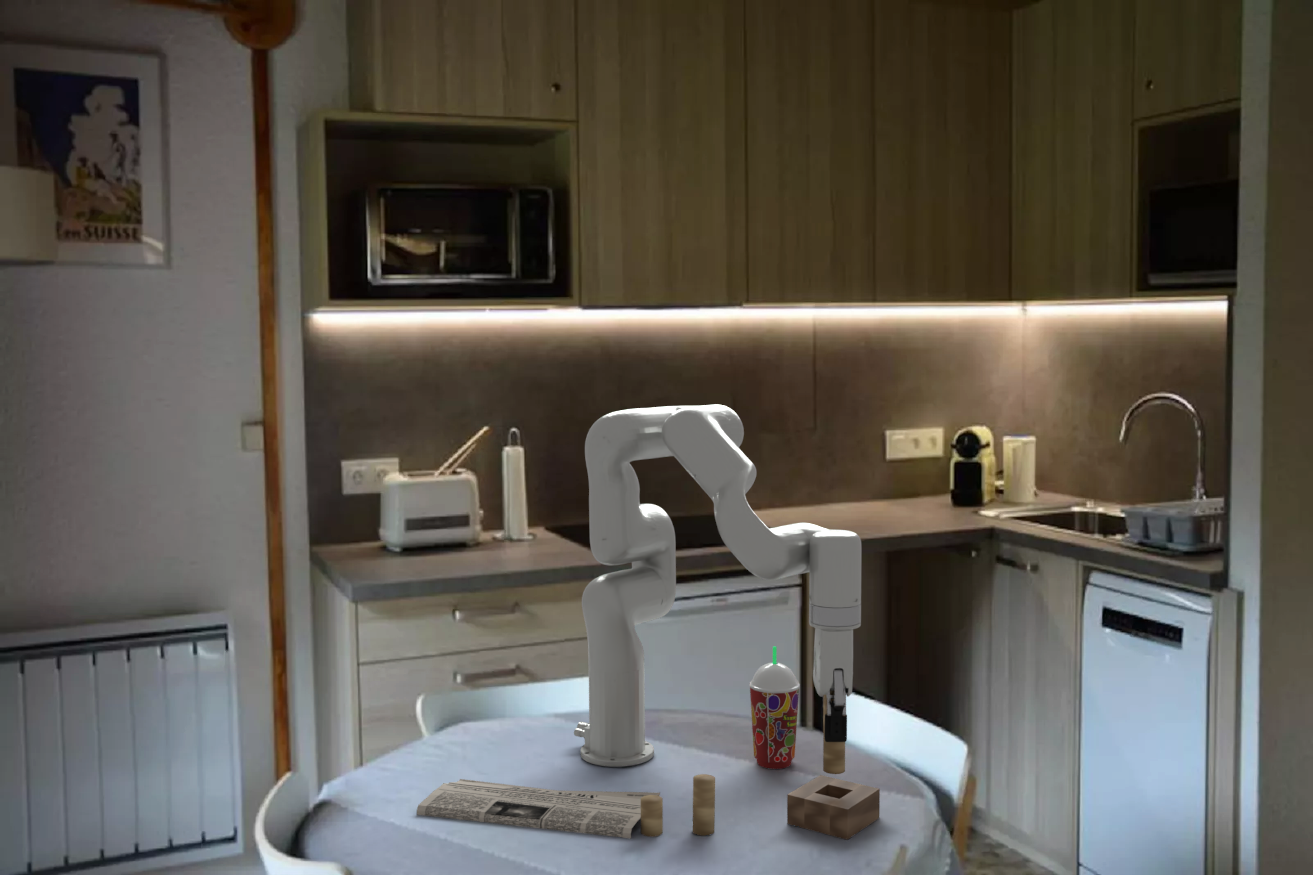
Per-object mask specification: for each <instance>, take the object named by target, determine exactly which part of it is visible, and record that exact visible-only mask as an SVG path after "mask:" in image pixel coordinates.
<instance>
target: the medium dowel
mask: <svg viewBox="0 0 1313 875" xmlns="http://www.w3.org/2000/svg"><path fill="white" fill-rule="evenodd" d="M692 784H693V785H692V834H694V835H696V834H697V835H696V836H701V837H702V836H704V837H706V835H708V836H711V835H710V834H712V835H713V834H714V833H715V822H716V820H715V818H716V817H715V816H716V815H715V814H716V813H715V812H716V810H715V809H716V777H715V776H714V775H712V774H706V773H701V774H697V775H694V776H693V777H692Z"/></svg>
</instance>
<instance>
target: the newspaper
mask: <svg viewBox="0 0 1313 875" xmlns="http://www.w3.org/2000/svg"><path fill="white" fill-rule="evenodd" d="M646 795H657V796H660V795H661V792H650V791H649V792H648V791H645V792H644V791H606V790H605V791H603V790H602V791H601V790H600V791H597V790H592V791H590V790H559V789H558V790H556V789H547V788H539V787H534V786H533V787H531V786H524V785H515V784H514V785H513V784H506V783H496V782H491V781H490V782H488V781H483V780H482V781H480V780H471V779H465V778H464V779H463V778H459V780H457V781H453V782H447V783H444V782H443V783H442V784H441V785H440V786H438V787H437V788H436V789H435V790H433V791H432V792H431V793H430V794H429V795H428V796H426V797H425V799H423V800H422V801H420V803H419V804H418V805H417V808H416V815H417V816H423V817H424V816H427V817H434V818H442V819H452V820H461V821H471V822H480V823H488V824H498V825H506V826H513V827H514V826H515V827H516V826H517V827H523V828H533V829H542V830H551V831H560V832H569V833H570V832H571V833H576V834H587V835H595V836H597V835H598V836H603V837H605V836H607V837H614V838H622V839H623V838H624V839H632V830H633V828H634V826H635V825H636V824H637V822H639V820H641V798H642V797H643V796H646ZM660 797H661V796H660Z"/></svg>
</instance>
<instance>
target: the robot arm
mask: <svg viewBox="0 0 1313 875" xmlns="http://www.w3.org/2000/svg"><path fill="white" fill-rule="evenodd" d="M744 429H745V428H744V425H743V422H742V420H741V418H740V417H739V414H737V412H735V410H733V409H732V408H731V407H728V406H727V405H722V404H718V403H717V404H716V403H715V404H706V405H705V404H704V405H667V406H665V405H664V406H656V407H655V406H653V407H640V408H639V407H638V408H636V407H635V408H627V409H622V410H616V411H612V412H609V413H606V414H605V415H602V416H601V417H600V418H598V419H597V420H596V421H594V423H593V424H592V425H591V427H590V428H589V429H588V431H587V434H586V438H585V441H584V457H585V458H584V459H585V466H586V470H587V476H588V477H587V478H588V489H589V490H588V491H589V492H588V494H589V495H588V510H589V511H588V515H589V516H588V518H589V521H588V522H589V544H590V551H591V554H592V556H593V557H594V559H595V561H596V562H598V563H600V564H602V565H605V566H619V565H625V564H630V563H631V568H628V569H627V568H626V569H622V570H618V571H617V570H616V571H612V572H608V573H604V574H601V575H599V576H598V577H595V578H593V579H592V580H591V581H590V582H588V584H587V585H586V586H585V588H584V590H583V592H582V595H581V609H582V615H583V619H584V620H583V621H584V625H585V629H586V630H585V631H586V638H587V652H588V653H587V655H588V656H587V657H588V659H587V660H588V662H587V663H588V718H589V719H588V722H585V721H579V722H578V724H577V726H576V728H575V729H574V730H573V735H574V736H575V737H579V738H583V739H584V744H583V745H582V746H581V747H580V757H581V759H582V760H584V761H586V762H587V763H589V764H592V765H596V766H601V767H609V768H616V767H617V768H619V767H631V766H636V765H640V764H643V763H645V762H648V761H650V760H651V759H653V757H654V755H655V747H654V745H653V744H652V743H650V742H649V741H647V740H646V707H645V706H646V703H645V702H646V701H645V700H646V698H645V697H646V695H645V694H646V693H645V690H646V688H645V686H646V682H645V681H646V680H645V679H646V678H645V677H646V676H645V673H646V670H645V652H644V647H643V643H642V642H641V640H640V637H639V635H638V633H637V631H636V629H635V628H636V627H635V626H637V625H640V624H643V623H647V622H650V621H654V620H657V619H661V618H662V617H664V616H665V615H667V614H668V613H670V611H671V609H672V608H673V605H674V603H675V599H676V592H677V574H676V573H677V568H676V566H677V565H676V564H677V557H676V556H677V555H676V543H677V542H676V532H675V527H674V525H673V521H672V519H671V517H670V516H669V514H668V513H667V512H666V511H665V509H664V508H662V507H661V506H659V505H656V504H654V503H641V502H640V494H641V493H640V491H641V488H640V482H639V479H638V475H637V473H636V471H635V469H634V467H633V466H632V464H631V463H632V462H634V461H640V460H649V459H659V458H666V457H674V458H675V459H676V460H677V461H678V463H679V464H680V465H681V466H682V467H683V468H684V469H685V471H686V472H687V473H688V474H689V475H690V477H691V478H693V480H694V481H695V482H696V483H697V484H698V485H699V486H700V488H701V489H702V491H704V493H705V494H707V495H708V497H709V498H710V499H711V501H712V502H713V513H714V514H713V515H714V519H715V522H716V523H715V524H716V526H717V531H718V534H719V535H720V537H721V540H722V542H723V544H724V545H725V546H726V547H727V549H728V550H729V551H730V552H731V554H732V555H733V556H734V557H735V558H736V559H737V560H738V561H739V562H740V563H741V565H742V566H743V567H744V568H745V569H746V571H747V570H748V572H749V573H751V574H752V575H753V576H755V577H757V578H759V579H761V580H766V581H777V580H779V579H780V580H781V579H785V578H787V577H792V576H796V575H802V574H806V573H808V574H809V575H808V576H809V583H808V584H809V585H808V586H809V588H808V589H809V590H808V591H809V594H808V598H809V602H808V605H809V606H808V608H809V609H808V610H809V611H808V613H809V614H808V616H809V617H808V624H809V626H810V627H812V628H814V644H813V645H814V646H813V671H812V672H813V673H812V679H813V680H812V681H813V685H814V687H815V692H816V693H817V694H818V696H819V697H822V701H823V700H824V695H826V697H827V714H825V741H826V742H845V743H846V742H847V740H848V714H847V697H850V696H851V695H852V694H853V677H854V630H856V629H858V628H860V627H861V625H862V539H861V536H859V534H857V533H856V532H854V531H851V530H847V529H846V530H845V529H829V528H825V527H822V526H819V525H817V524H813V523H811V522H810V523H809V522H796V523H795V522H794V523H789V524H785V525H780V526H776V527H770V528H769V527H768V526H767V525H766V524H765V523H764V522H763V521H762V520H761V519H760V517H759V516H758V515H757V513H755V511H754V510H753V509H752V508H751V505H750V504H749V502H748V500H747V496H746V494H747V493H748V492H749V490H750V489H751V488H752V486H753V485H754V482H755V480H756V477H757V474H758V473H757V468H756V466H755V464H754V463H753V462H752V461H751V459H749V457H747V455H746V454H745V453H744V452H743V450H741V448H740V446H741V445H742V444H743V440H744V435H745V431H744ZM830 691H834V694H830ZM831 699H834V701H832V702H831ZM821 732H822V733H823V705H822V706H821Z"/></svg>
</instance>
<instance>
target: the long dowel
mask: <svg viewBox="0 0 1313 875" xmlns="http://www.w3.org/2000/svg"><path fill="white" fill-rule="evenodd" d="M830 694H834V691H830ZM832 701H834V699H831V702H832ZM822 706H823V732H822V734H823V735H822V736H823V737H822V738H823V744H822V746H823V747H822V748H823V751H822V752H823V754H822V757H823V758H822V759H823V760H822V761H823V763H822V771H823V772H824V773H826V774H830V775H841V774H845V772H846V742H826V741H825V714H827V697H826V695H824V700H823V699H822Z"/></svg>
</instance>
